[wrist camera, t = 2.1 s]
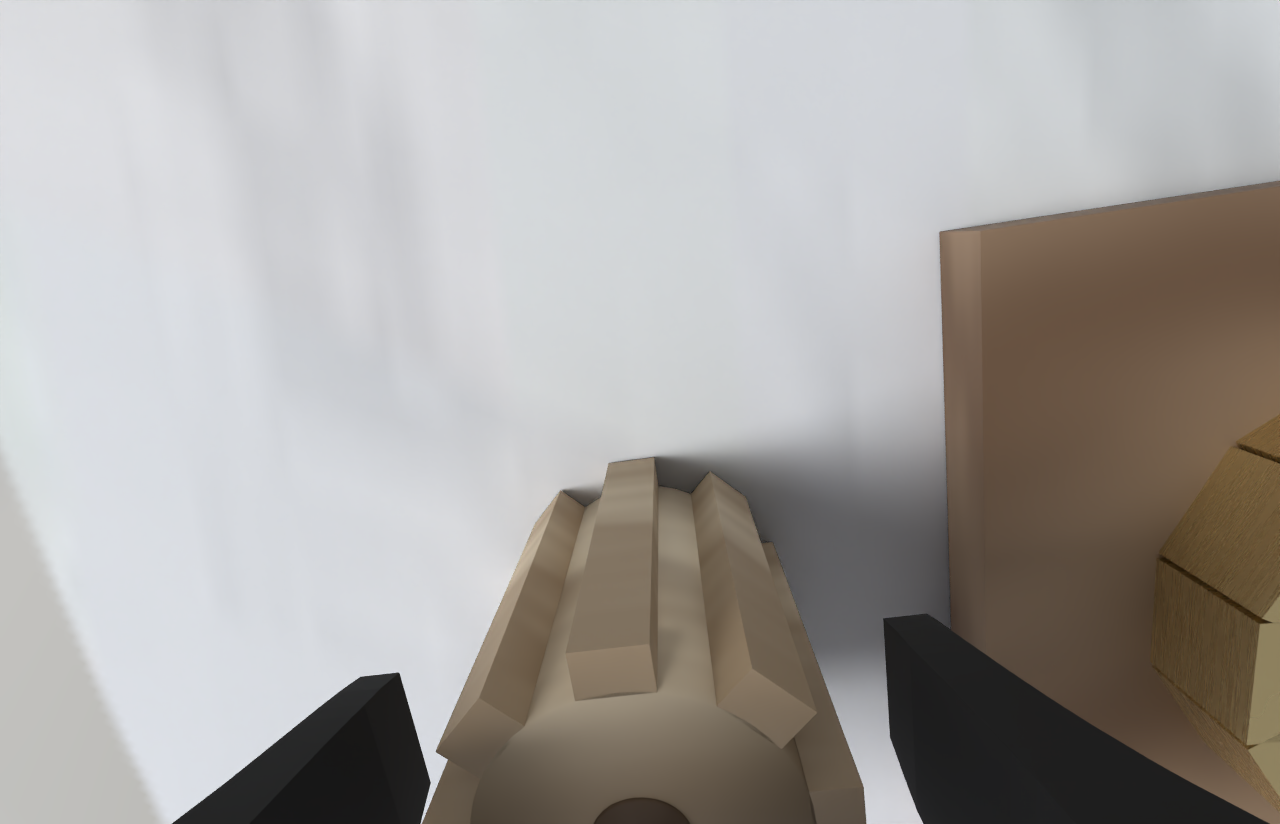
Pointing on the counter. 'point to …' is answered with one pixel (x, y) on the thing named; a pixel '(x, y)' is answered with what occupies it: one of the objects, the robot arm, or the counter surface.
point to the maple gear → (647, 676)
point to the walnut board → (1101, 437)
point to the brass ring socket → (1227, 611)
